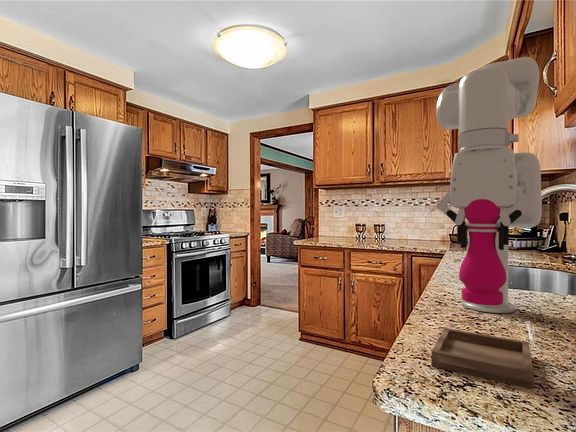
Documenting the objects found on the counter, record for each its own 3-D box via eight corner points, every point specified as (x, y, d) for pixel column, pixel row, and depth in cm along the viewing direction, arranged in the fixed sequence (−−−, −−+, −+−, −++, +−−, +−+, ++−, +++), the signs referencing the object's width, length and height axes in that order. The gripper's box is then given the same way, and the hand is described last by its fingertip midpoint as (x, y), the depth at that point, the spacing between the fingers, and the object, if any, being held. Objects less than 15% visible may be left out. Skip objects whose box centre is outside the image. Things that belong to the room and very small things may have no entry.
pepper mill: (507, 299, 60) (507, 187, 60) (505, 309, 54) (506, 184, 54) (461, 294, 64) (462, 188, 64) (455, 302, 58) (456, 185, 58)
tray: (444, 340, 69) (444, 327, 69) (528, 355, 61) (528, 342, 61) (431, 365, 57) (431, 351, 57) (533, 389, 50) (533, 372, 50)
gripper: (541, 142, 58) (541, 249, 58) (434, 152, 67) (433, 244, 67) (545, 133, 51) (545, 253, 51) (426, 145, 61) (426, 247, 61)
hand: (482, 247), depth 59 cm, fingers closed on pepper mill, 5 cm apart
